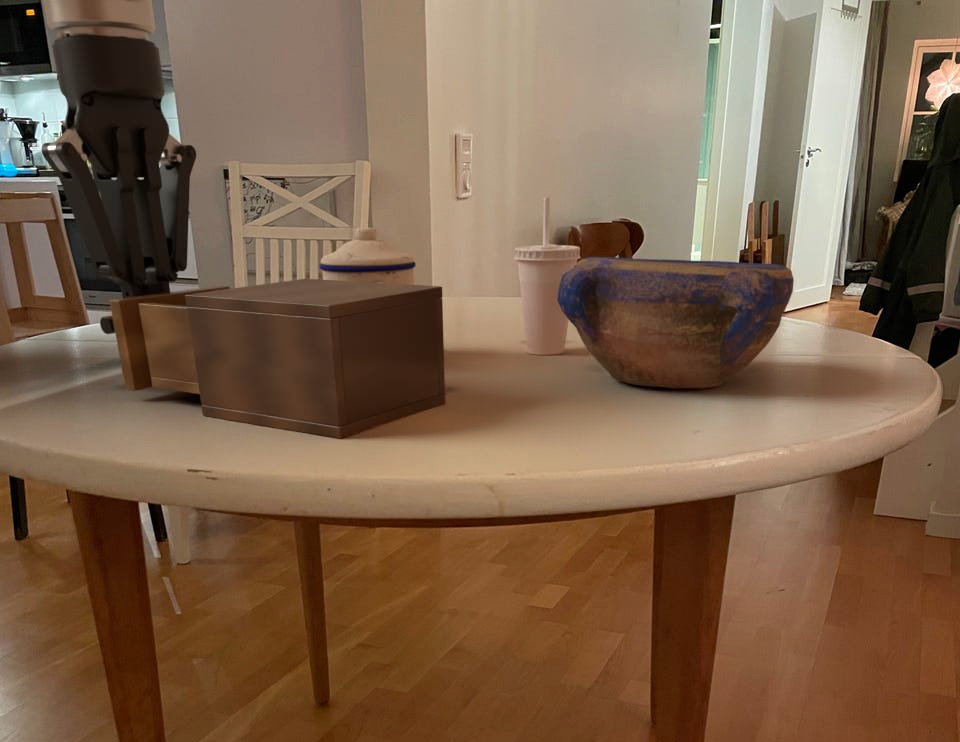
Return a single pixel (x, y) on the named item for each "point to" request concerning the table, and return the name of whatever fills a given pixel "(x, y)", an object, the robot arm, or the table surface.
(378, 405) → the cabinet
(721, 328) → the bowl
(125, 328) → the drawer
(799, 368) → the table surface
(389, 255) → the teacup with lid
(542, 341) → the smoothie
